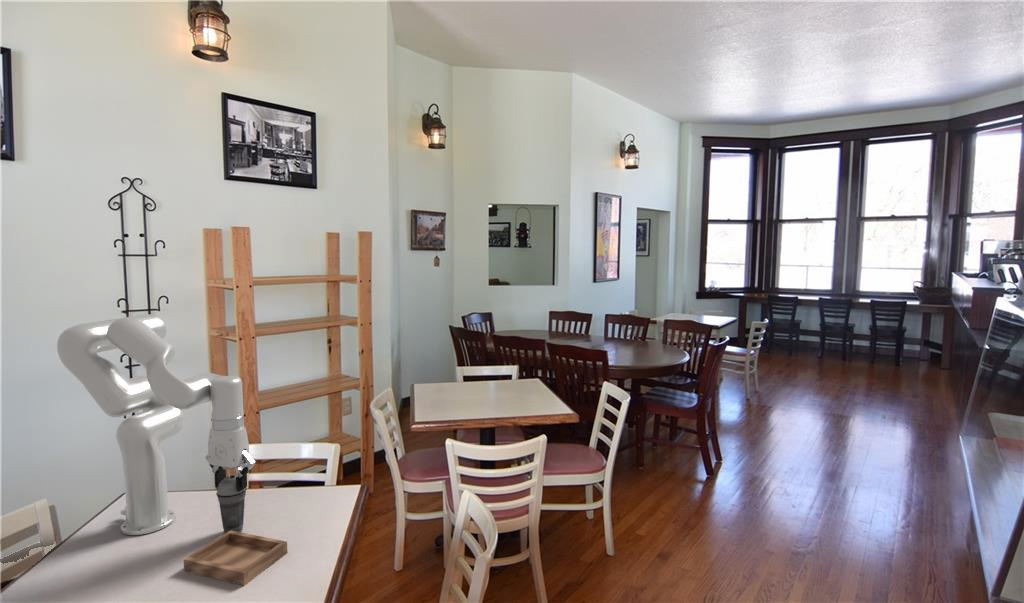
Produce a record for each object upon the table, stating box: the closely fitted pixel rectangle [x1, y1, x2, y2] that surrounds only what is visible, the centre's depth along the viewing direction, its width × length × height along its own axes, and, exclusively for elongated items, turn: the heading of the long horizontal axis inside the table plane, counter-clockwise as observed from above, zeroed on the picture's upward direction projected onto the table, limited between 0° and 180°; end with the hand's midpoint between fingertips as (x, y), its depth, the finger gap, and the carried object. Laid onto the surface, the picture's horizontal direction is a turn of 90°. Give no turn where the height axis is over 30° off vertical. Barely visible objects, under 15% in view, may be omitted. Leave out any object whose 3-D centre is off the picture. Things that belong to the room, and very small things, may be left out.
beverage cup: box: [216, 467, 248, 535], centre depth 146 cm, size 7×7×20 cm
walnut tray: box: [183, 530, 288, 586], centre depth 133 cm, size 18×14×3 cm
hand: (231, 486), depth 146 cm, fingers closed on beverage cup, 6 cm apart
